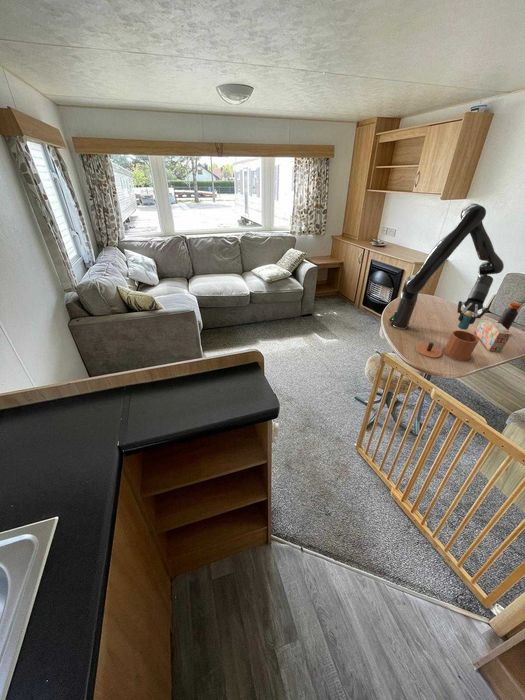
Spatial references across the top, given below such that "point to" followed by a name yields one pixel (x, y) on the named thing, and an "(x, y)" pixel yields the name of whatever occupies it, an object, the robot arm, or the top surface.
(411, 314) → the robot arm
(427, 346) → the lid
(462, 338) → the pot
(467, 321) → the toy doll
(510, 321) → the bottle
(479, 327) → the colourful patterned box
